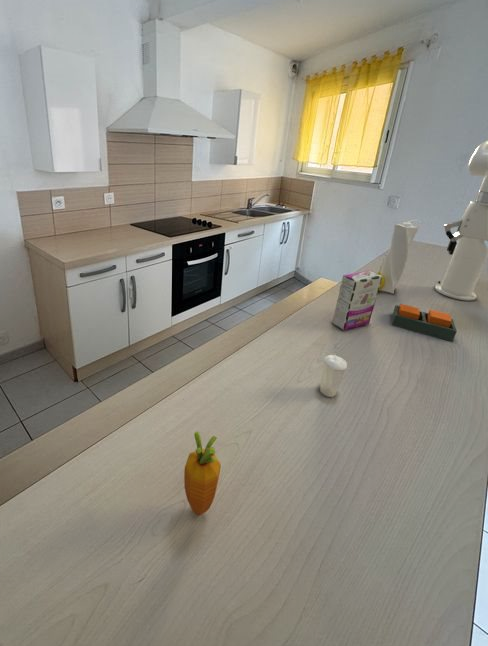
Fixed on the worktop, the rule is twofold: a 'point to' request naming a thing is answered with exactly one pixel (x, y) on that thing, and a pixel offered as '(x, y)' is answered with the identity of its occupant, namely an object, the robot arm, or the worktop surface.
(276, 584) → the worktop surface
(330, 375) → the milkshake
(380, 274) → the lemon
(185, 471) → the carrot
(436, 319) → the loose pad
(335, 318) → the candy bar box
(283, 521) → the worktop surface
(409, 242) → the skyscraper
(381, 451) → the worktop surface
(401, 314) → the seated pad
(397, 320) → the pad holder
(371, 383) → the worktop surface
